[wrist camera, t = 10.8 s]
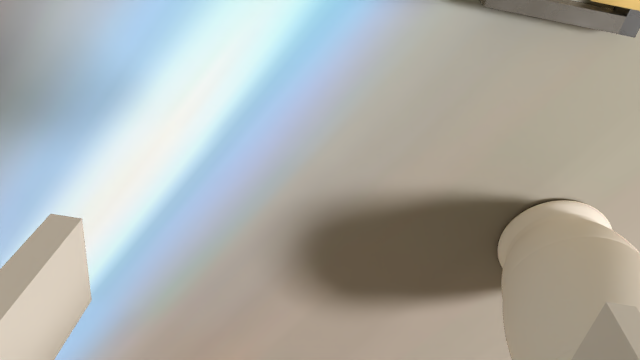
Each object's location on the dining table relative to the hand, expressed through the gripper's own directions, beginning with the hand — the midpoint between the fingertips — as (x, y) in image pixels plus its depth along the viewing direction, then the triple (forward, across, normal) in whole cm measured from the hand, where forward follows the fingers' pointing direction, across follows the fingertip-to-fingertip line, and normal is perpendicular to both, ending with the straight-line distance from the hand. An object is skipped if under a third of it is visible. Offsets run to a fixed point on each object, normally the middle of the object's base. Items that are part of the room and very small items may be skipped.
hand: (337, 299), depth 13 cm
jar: (+24, +18, -13) cm, 33 cm away
